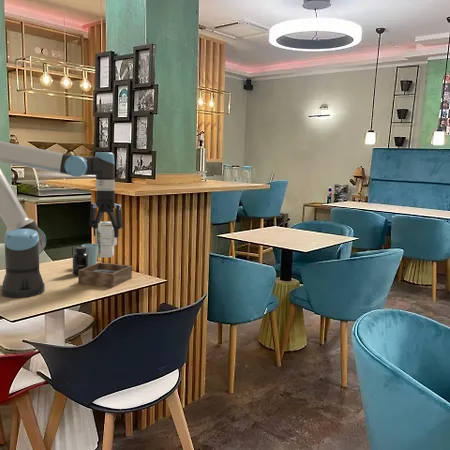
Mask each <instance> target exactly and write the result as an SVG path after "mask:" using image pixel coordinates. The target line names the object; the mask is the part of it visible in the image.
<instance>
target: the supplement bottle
mask: <svg viewBox="0 0 450 450" xmlns="http://www.w3.org/2000/svg"><path fill="white" fill-rule="evenodd" d="M74 252H75V253H74V254H73V255H72V274H73V275H74V276H78V270H81V269H83V268H86V267H89V255H88V254H87V253H86V252H87V251H86V247H82V246H77V247H75V248H74Z"/></svg>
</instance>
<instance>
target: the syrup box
mask: <svg viewBox="0 0 450 450" xmlns="http://www.w3.org/2000/svg"><path fill="white" fill-rule="evenodd" d="M113 229H114V228H113V226H112V223H111V221H107V220H106V221H104V220H103V221H100V223H98V244H97V245H98V254H97V258H113V257H114V255H115V245H114V246H112V230H113Z"/></svg>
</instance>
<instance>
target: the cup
mask: <svg viewBox="0 0 450 450" xmlns="http://www.w3.org/2000/svg"><path fill="white" fill-rule="evenodd" d="M81 247H86V251H87V252H86V253H87V254H88V255H89V266H91V265H94V264H97V263H98V244H95V243H84V244H82V245H81Z"/></svg>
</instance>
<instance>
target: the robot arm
mask: <svg viewBox="0 0 450 450" xmlns="http://www.w3.org/2000/svg"><path fill="white" fill-rule="evenodd" d="M94 154H95V155H94V156H84V155H83V156H82V155H81V156H79V155H74V154H69V153H68V154H67V153H63V152H57V151H54V150H53V151H52V150H48V149H42V148H37V147H32V146H27V145H22V144H17V143H12V142H7V141H6V142H5V141H2V140H0V163H3V164H8V165H13V166H19V167H25V168H30V169H36V170H42V171H46V172H53V173H57V174H62V175H67V176H71V177H76V178H78V177H81V176H95V189H96V191H95V197H96V198H95V199H96V201H95V202H93V203H90V204H89V207H90V211H89V223H88V225H89V227H90V228H92V229H93V236H94V237H95V243H94V244H97V245H98V223H100V222H102V218H103V215H104V213H107V215H108V216H109V219H110V222H111V223H112V226H113V228H114V229H113V230H112V246H114V247H115V246H117V245H118V238H119V235H120V233H119V231H120V229H123V228H124V224H123V223H124V222H123V215H122V207H123V206H122V205H123V204H118V203H116V201H115V198H116V192H115V188H116V180H115V174H116V172H115V167H116V163H115V154H114V153H113V152H112V151H111V152H110V151H109V152H108V151H104V152H103V151H96V152H95V153H94ZM114 209H115V210H114ZM0 217H1V219H2V221H3V223H4V224H5V227H6V230H5V234H4V240H3V244H4V257H5V258H4V261H5V274H4V278H3V281H2V285H1V287H0V289H1V291H0V292H1V296H4V297H7V298H8V297H9V298H27V297H33V296H37V295H41V294H43V293H44V292H45V291H46V289H45V288H46V287H45V286H46V285H45V283H44V281H43V277H42V274H41V272H40V255H41V254H42V252H43V251H44V250H45V248H46V246H47V245H46V244H47V238H46V234H45V233H44V231H43V230H42V229H41V228H39V227H38V225H37V223H36V221H35V219H33V218H29V217H28V215H27V213H26V211H25V210H24V208H23V207H22V204H21V203H20V200H19V199H18V197H17V196H16V193H15V191H14V190H13V188H12V187H11V185H10V182H9V181H8V179H7V177H6V176H5V173H4V172H3V170H2V169H1V167H0Z"/></svg>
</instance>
